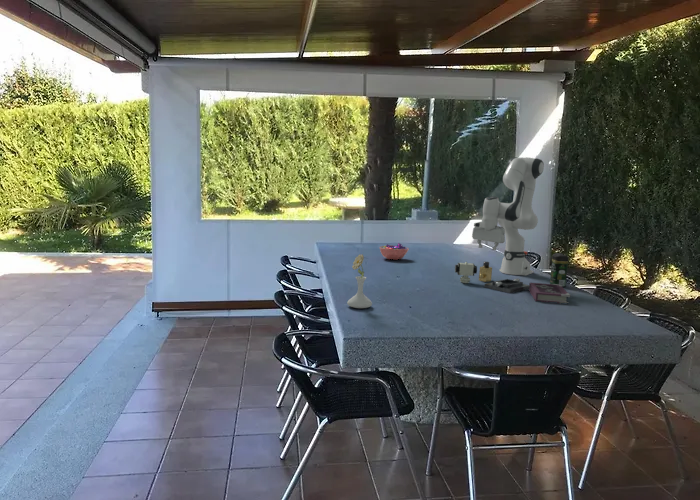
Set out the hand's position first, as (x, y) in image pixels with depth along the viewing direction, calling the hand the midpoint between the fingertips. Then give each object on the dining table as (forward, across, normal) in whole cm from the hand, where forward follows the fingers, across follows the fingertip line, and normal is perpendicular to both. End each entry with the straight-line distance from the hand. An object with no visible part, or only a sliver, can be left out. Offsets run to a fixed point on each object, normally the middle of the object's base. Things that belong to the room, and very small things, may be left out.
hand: (487, 249), depth 331 cm
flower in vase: (+20, -6, +103) cm, 105 cm away
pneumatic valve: (+19, +3, +14) cm, 24 cm away
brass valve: (+19, 0, -1) cm, 19 cm away
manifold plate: (+19, -19, +5) cm, 27 cm away
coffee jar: (+18, -31, -27) cm, 45 cm away
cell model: (+19, +77, -4) cm, 79 cm away
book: (+19, -43, +4) cm, 47 cm away
